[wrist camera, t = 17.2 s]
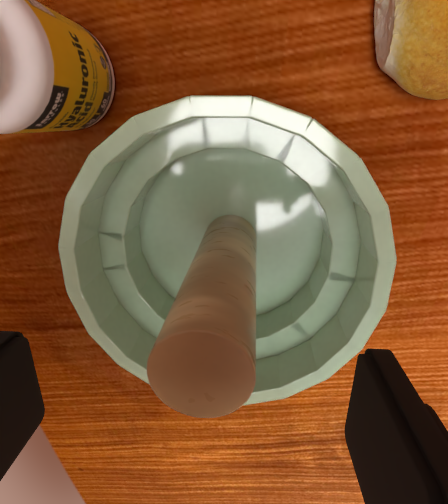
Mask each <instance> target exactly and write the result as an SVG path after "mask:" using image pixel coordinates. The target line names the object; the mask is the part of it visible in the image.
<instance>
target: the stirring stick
mask: <svg viewBox="0 0 448 504" xmlns="http://www.w3.org/2000/svg"><path fill="white" fill-rule="evenodd" d="M256 253H257V238H256V233H255V230H254V228H253V227H252V225H251V224H250V223H249V222H248V221H247V220H245V219H244V218H242V217H240V216H236V215H224V216H220V217H218V218H216V219H215V220H214V221H212V222H211V223H210V225H209V226H208V228H207V230H206V232H205V234H204V236H203V239H202V241H201V243H200V245H199V247H198V250H197V252H196V254H195V256H194V258H193V260H192V263H191V265H190V267H189V269H188V271H187V274H186V276H185V278H184V280H183V282H182V284H181V287H180V289H179V291H178V293H177V295H176V298H175V300H174V302H173V304H172V306H171V309H170V311H169V313H168V315H167V317H166V319H165V322H164V324H163V326H162V328H161V330H160V333H159V335H158V337H157V339H156V341H155V343H154V346H153V348H152V350H151V352H150V354H149V357H148V360H147V376H148V380H149V383H150V386H151V388H152V390H153V391H154V393H155V394H156V395H157V396H158V398H159V399H160V400H161V401H163V402H164V403H165V404H166V405H168V406H169V407H170V408H172V409H174V410H176V411H178V412H180V413H183V414H186V415H189V416H193V417H200V418H214V417H220V416H224V415H227V414H229V413H232V412H234V411H236V410H237V409H239V408H240V407H241V406H243V405H244V404H245V403H246V402H247V400H248V399H249V397H250V396H251V394H252V392H253V390H254V387H255V381H256Z"/></svg>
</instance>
